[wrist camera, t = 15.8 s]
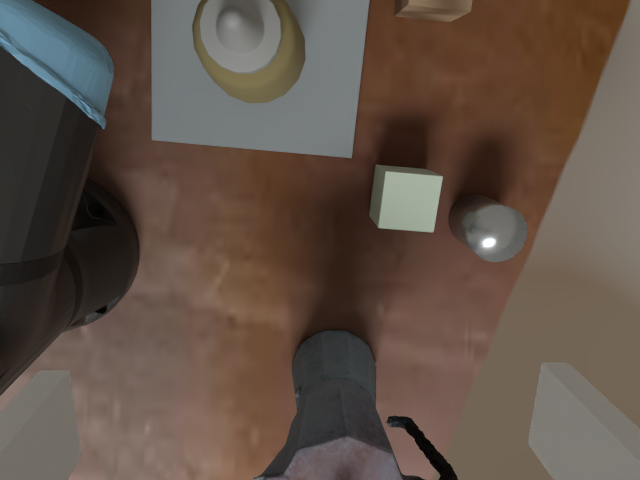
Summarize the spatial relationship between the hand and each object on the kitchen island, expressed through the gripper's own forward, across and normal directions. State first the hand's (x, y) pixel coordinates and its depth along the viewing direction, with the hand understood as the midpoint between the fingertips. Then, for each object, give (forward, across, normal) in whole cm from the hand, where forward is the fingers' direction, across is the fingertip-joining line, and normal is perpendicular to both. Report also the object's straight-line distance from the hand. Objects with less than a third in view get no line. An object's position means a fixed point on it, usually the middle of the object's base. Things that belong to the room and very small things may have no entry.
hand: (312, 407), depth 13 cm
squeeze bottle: (+32, +3, -12) cm, 34 cm away
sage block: (+33, -10, 0) cm, 34 cm away
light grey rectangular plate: (+33, +3, -12) cm, 35 cm away
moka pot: (+33, -4, +18) cm, 38 cm away
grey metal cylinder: (+33, -18, +2) cm, 37 cm away
